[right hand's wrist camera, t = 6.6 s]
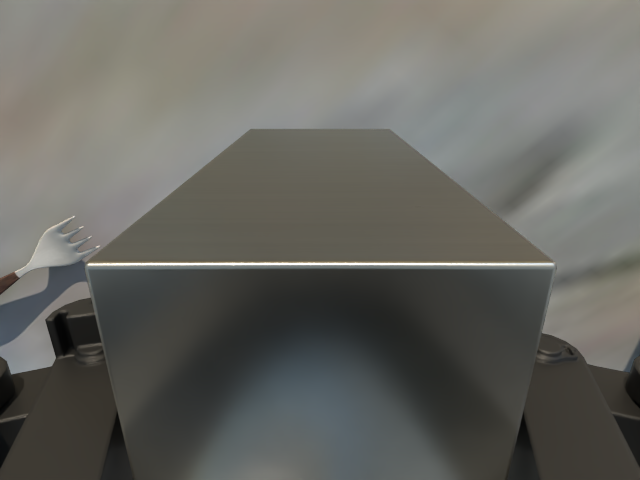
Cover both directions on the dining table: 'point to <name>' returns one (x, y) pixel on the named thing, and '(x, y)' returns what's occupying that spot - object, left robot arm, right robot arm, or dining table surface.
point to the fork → (51, 253)
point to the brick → (320, 318)
